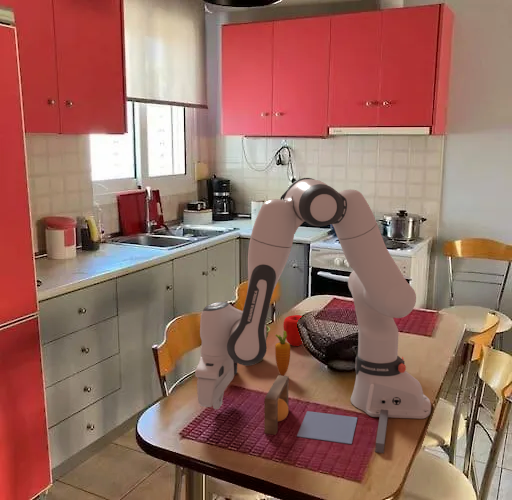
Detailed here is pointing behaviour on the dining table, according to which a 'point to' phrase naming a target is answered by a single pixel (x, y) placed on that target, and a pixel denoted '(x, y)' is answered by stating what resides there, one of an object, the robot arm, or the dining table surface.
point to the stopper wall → (381, 431)
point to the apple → (292, 330)
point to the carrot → (282, 354)
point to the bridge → (275, 403)
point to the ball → (282, 409)
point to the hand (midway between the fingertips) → (217, 406)
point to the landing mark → (328, 427)
